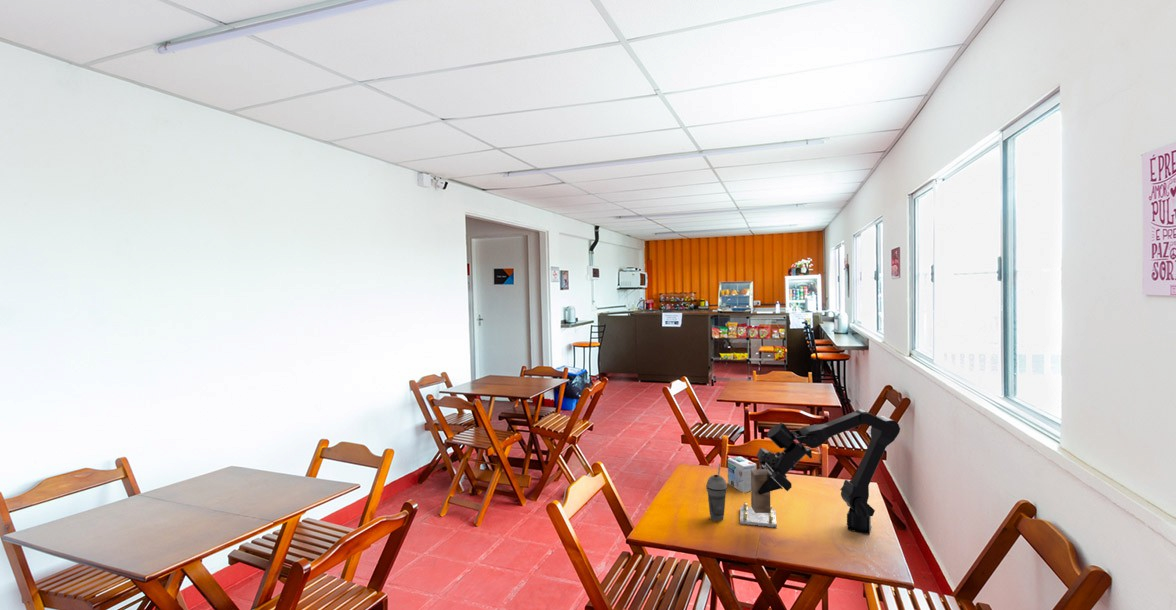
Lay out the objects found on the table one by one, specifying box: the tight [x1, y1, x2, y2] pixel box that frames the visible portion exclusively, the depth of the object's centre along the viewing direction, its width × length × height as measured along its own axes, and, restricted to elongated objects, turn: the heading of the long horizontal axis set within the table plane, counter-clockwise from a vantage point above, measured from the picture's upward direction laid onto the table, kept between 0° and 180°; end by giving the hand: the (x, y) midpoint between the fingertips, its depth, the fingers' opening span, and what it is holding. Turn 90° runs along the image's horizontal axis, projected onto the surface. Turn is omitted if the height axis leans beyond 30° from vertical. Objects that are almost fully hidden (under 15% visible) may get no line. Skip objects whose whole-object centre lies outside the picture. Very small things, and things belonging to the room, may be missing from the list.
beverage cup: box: [706, 463, 728, 522], centre depth 188 cm, size 7×7×20 cm
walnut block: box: [750, 468, 771, 513], centre depth 179 cm, size 5×5×13 cm
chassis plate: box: [739, 502, 778, 528], centre depth 188 cm, size 12×12×3 cm
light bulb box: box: [727, 456, 757, 493], centre depth 216 cm, size 11×7×11 cm, turn 21°
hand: (756, 490), depth 179 cm, fingers closed on walnut block, 5 cm apart
